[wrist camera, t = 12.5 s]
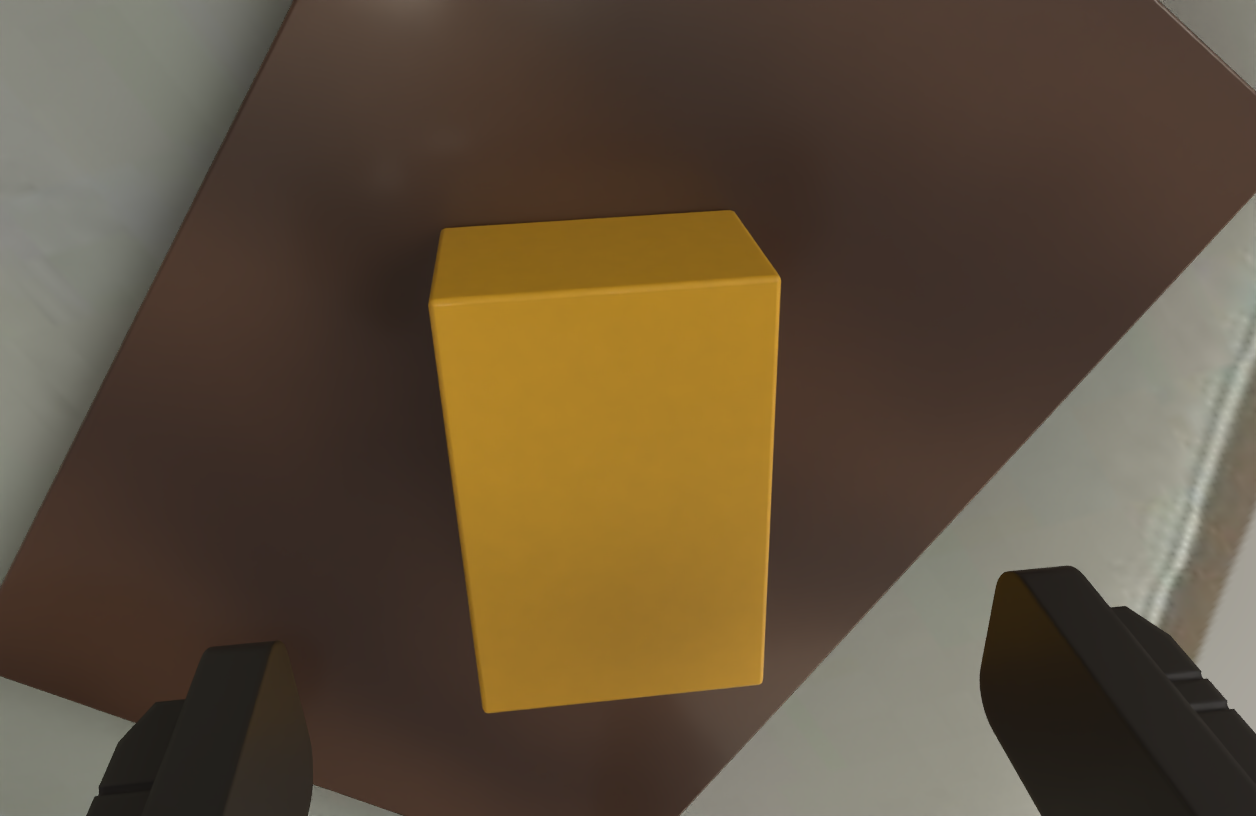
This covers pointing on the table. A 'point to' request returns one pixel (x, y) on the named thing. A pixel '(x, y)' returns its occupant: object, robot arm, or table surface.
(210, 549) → the desk pad
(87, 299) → the table surface
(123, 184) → the table surface
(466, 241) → the block
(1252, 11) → the table surface
